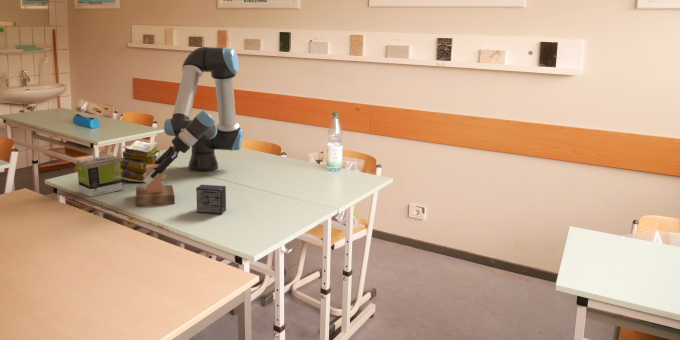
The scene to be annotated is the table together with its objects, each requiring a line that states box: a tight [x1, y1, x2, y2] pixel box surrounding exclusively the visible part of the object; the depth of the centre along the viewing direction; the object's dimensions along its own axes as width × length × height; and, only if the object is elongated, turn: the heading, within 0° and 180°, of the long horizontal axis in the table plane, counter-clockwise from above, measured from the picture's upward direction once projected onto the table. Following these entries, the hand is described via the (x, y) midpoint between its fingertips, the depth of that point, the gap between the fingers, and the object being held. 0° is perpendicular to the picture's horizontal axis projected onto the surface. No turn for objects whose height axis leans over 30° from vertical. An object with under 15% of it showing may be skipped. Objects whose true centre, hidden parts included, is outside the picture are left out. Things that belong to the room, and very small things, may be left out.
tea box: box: [76, 154, 123, 197], centre depth 236 cm, size 15×10×15 cm, turn 141°
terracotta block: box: [146, 164, 163, 193], centre depth 228 cm, size 6×5×11 cm
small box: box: [195, 184, 227, 215], centre depth 218 cm, size 11×6×10 cm, turn 84°
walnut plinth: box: [135, 184, 176, 207], centre depth 230 cm, size 15×15×4 cm
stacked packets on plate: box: [120, 140, 167, 183], centre depth 262 cm, size 25×25×17 cm
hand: (145, 179), depth 227 cm, fingers open, 7 cm apart
